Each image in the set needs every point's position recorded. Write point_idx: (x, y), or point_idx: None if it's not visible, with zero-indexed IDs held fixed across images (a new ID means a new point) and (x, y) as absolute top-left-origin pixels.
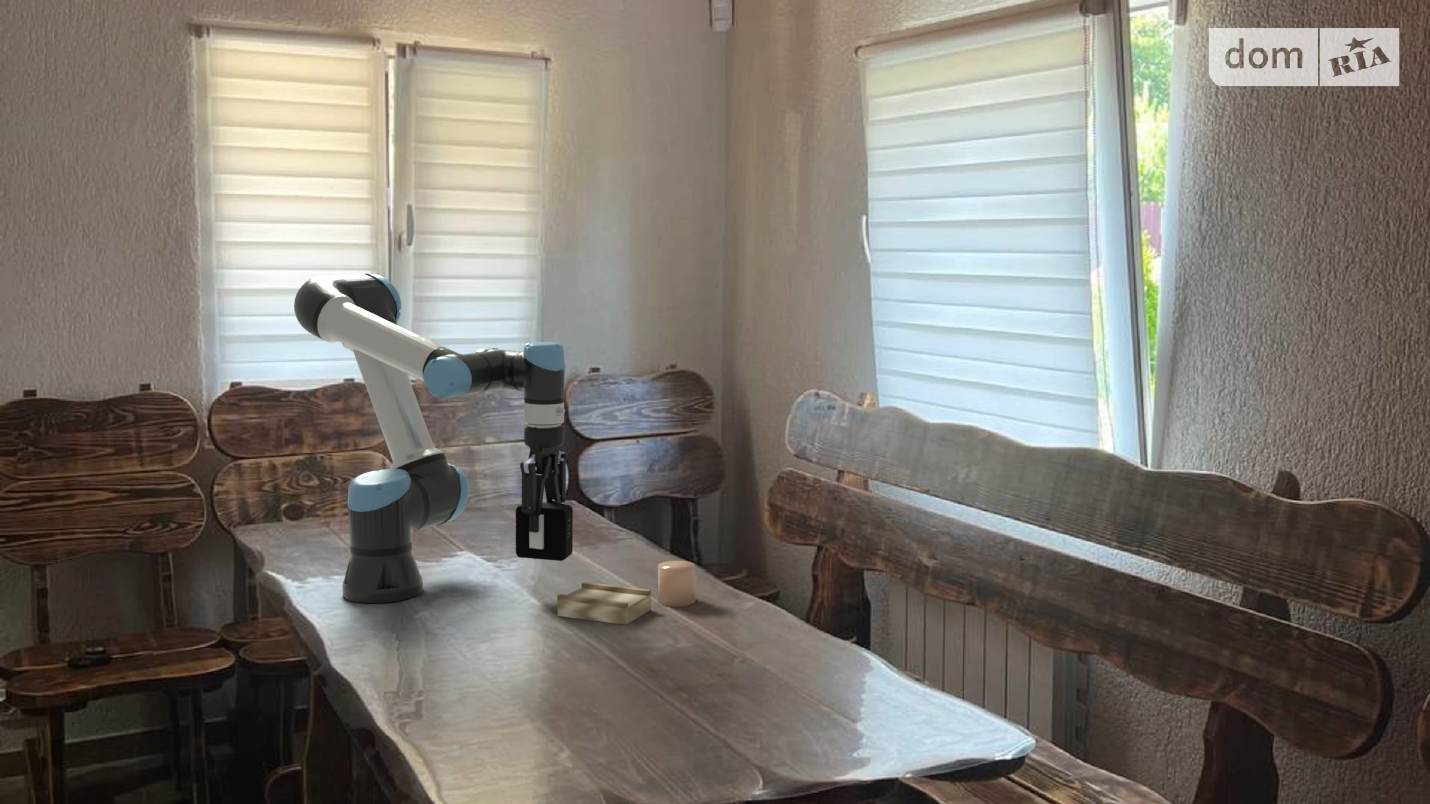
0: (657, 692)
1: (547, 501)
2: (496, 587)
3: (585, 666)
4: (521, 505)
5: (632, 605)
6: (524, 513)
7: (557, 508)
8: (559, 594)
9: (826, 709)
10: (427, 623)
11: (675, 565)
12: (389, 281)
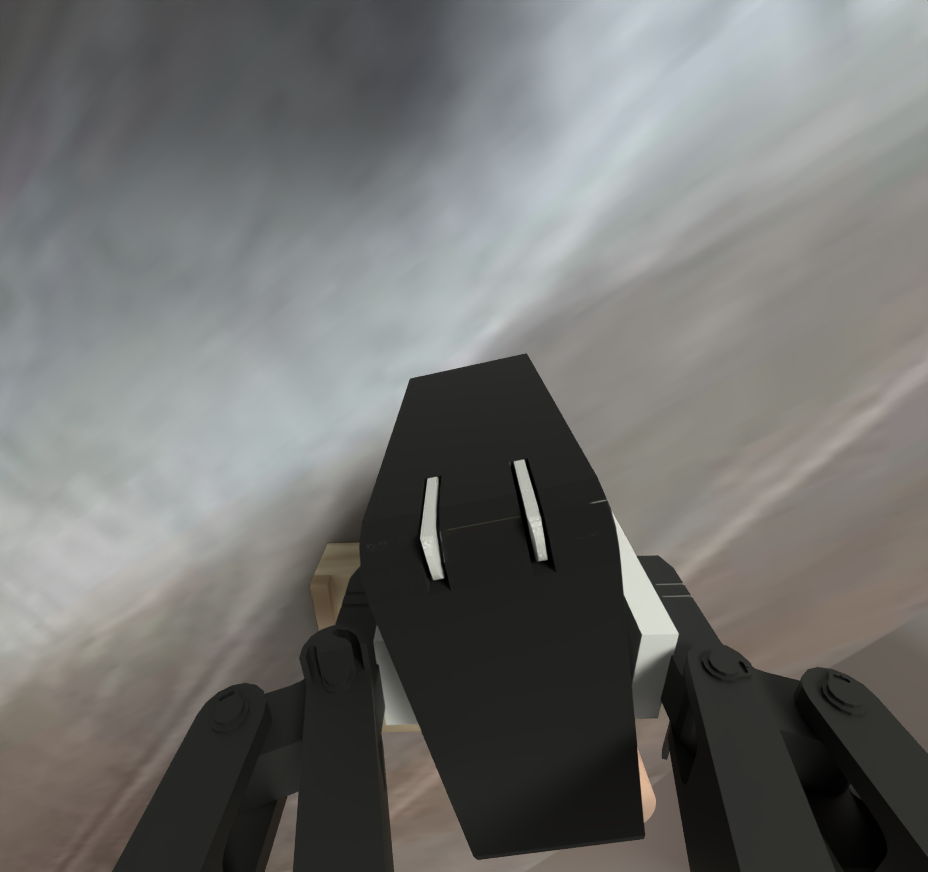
0: (79, 848)
1: (696, 704)
2: (524, 156)
3: (83, 737)
4: (408, 597)
5: (383, 729)
6: (319, 636)
7: (479, 837)
8: (323, 584)
9: None
10: None
11: None
12: None
